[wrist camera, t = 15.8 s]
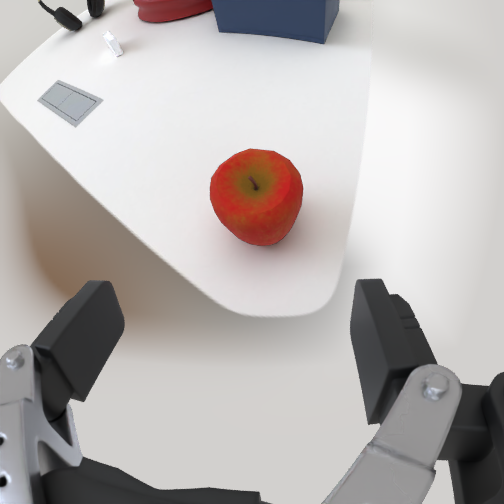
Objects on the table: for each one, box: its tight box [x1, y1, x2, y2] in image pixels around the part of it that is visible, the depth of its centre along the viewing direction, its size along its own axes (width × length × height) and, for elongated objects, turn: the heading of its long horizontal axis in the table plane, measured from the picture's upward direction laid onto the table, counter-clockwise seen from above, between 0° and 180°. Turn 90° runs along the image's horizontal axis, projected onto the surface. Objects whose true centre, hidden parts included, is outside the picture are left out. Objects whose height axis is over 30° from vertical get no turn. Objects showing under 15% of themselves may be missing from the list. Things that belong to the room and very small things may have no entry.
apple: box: [210, 149, 303, 246], centre depth 22 cm, size 6×6×8 cm
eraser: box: [103, 31, 123, 57], centre depth 37 cm, size 1×5×4 cm, turn 34°
